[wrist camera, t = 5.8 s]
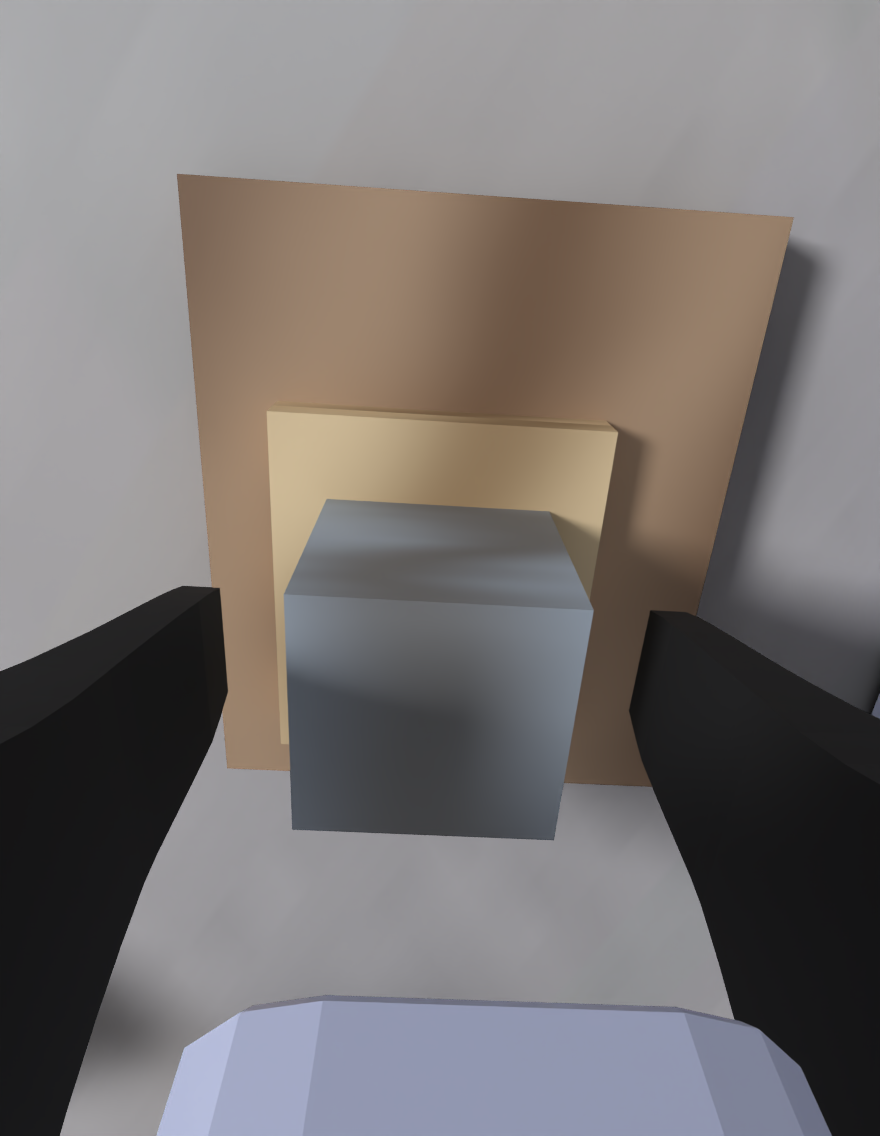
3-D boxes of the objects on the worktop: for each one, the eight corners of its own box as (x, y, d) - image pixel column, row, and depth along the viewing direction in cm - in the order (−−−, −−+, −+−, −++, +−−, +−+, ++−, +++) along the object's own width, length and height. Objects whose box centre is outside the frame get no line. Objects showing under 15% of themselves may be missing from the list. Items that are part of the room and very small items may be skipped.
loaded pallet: (606, 420, 13) (694, 505, 8) (556, 730, 15) (602, 911, 11) (277, 400, 12) (194, 476, 8) (289, 718, 15) (232, 897, 11)
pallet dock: (754, 221, 13) (794, 216, 11) (637, 745, 18) (654, 786, 16) (205, 183, 12) (177, 173, 11) (243, 727, 17) (227, 768, 16)
